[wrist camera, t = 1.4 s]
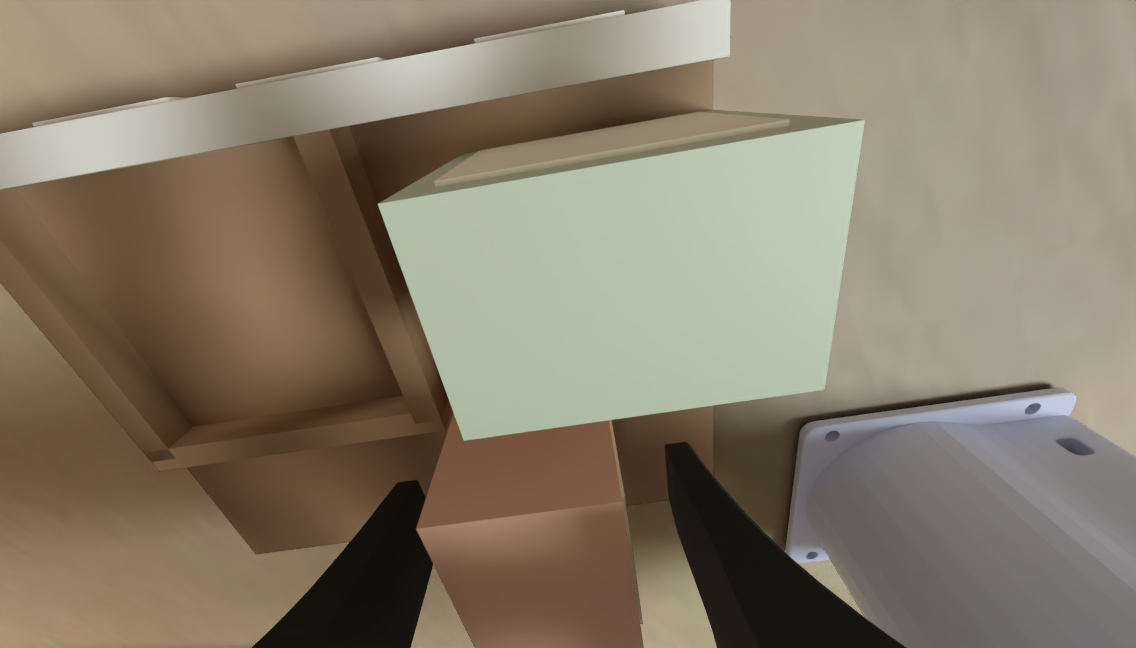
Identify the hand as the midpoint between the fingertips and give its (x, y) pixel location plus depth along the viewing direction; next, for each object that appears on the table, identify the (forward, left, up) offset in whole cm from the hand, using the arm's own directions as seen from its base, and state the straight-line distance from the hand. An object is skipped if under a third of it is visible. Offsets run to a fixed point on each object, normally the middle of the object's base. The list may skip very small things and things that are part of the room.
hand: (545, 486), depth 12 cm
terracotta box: (0, 0, -2) cm, 2 cm away
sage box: (-3, -7, -2) cm, 8 cm away
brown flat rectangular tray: (+3, -3, -3) cm, 6 cm away
